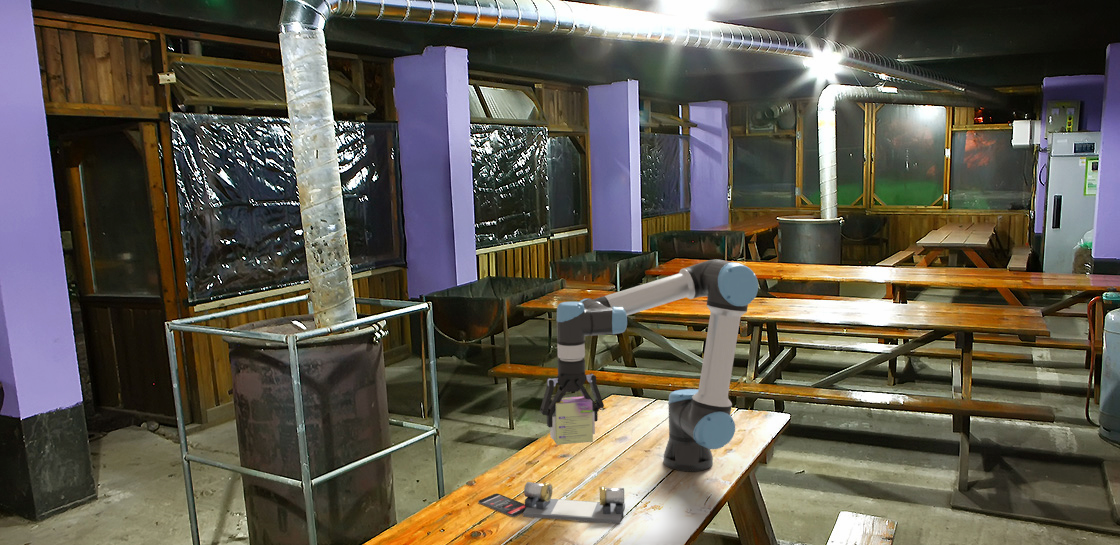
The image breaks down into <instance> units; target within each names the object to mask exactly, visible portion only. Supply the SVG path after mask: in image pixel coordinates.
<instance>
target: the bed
mask: <svg viewBox="0 0 1120 545" xmlns="http://www.w3.org/2000/svg"><path fill="white" fill-rule="evenodd" d="M610 505H611V514H603V505H600V501H590V500H589V501H588V500H574V499H560V498H559V499H558V498H551V499H550V503H549V504H548V505H547V506H546V507H545V508H544V509H543V510H541V509H536V504H535V505H534V506H533V507H532V508H528V507H527V508H526V509H525V511H524V513H523V514H522V515H523V517H525V518H535V519H536V518H537V519H538V518H540V519H553V520H565V521H577V522H578V521H579V522H591V523H592V522H593V523H605V524H618V525H619V524H621V521H622V514H616V504H610ZM625 508H626V503H624V504H623V510H624V511H625Z"/></svg>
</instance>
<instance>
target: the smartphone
mask: <svg viewBox="0 0 1120 545" xmlns="http://www.w3.org/2000/svg"><path fill="white" fill-rule="evenodd" d="M477 502H478V504H480V505H482V506H484V507H488V508H490V509H492V510H494V511H497V512H499V513H502V514H504V515H506V516H509V517H511V518H517V517H518V516H521V515H523V513H524V511H525V503H523V502H521V501H518V500H516V499H512V498H510V497H508V496H505V495H502V494H500V493H493V494H491V495H489V496H487V497H484V498H481V499H479V500H478V501H477Z"/></svg>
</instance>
